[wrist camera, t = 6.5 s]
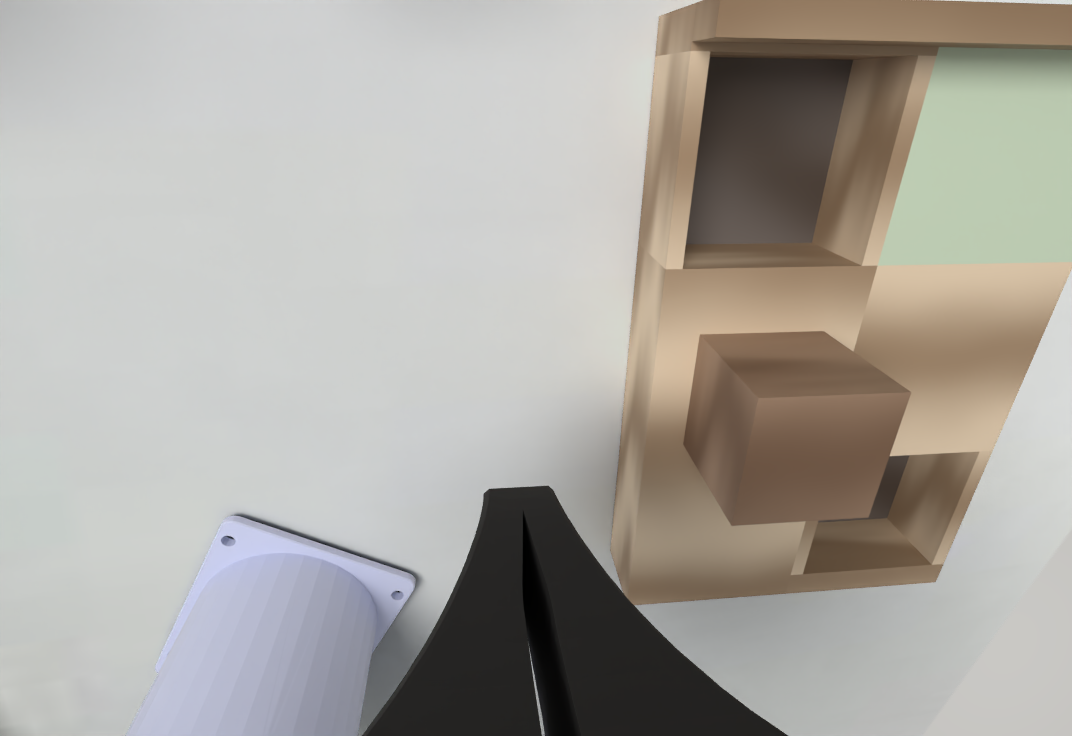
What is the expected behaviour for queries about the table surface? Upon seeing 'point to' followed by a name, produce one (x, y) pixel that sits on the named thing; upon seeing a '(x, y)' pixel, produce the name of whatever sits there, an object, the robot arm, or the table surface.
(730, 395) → the walnut block
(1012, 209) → the pad
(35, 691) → the table surface
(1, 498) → the table surface
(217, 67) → the table surface
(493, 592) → the robot arm
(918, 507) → the board
